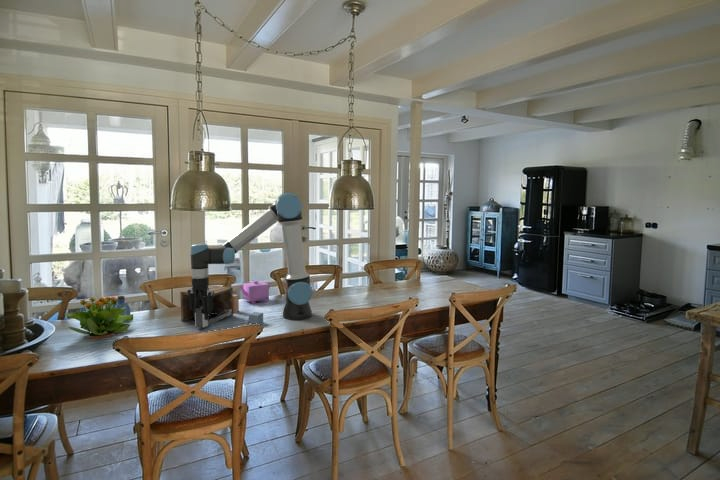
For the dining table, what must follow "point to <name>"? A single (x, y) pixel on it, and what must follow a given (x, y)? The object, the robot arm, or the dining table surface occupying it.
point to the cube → (256, 318)
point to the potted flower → (101, 318)
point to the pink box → (255, 291)
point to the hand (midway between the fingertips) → (201, 325)
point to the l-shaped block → (235, 303)
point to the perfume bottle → (122, 305)
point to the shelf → (220, 295)
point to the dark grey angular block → (222, 311)
